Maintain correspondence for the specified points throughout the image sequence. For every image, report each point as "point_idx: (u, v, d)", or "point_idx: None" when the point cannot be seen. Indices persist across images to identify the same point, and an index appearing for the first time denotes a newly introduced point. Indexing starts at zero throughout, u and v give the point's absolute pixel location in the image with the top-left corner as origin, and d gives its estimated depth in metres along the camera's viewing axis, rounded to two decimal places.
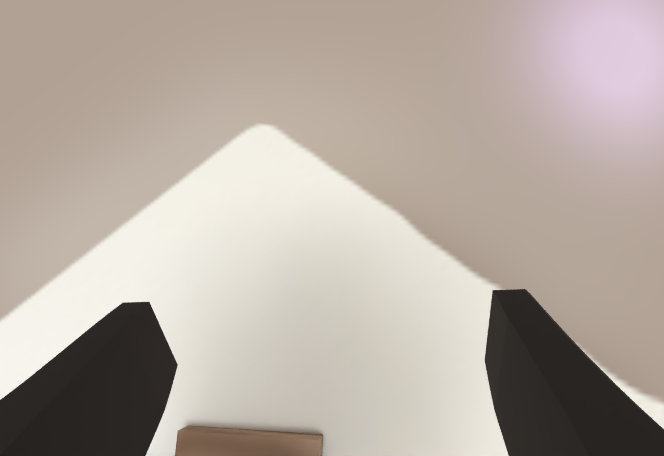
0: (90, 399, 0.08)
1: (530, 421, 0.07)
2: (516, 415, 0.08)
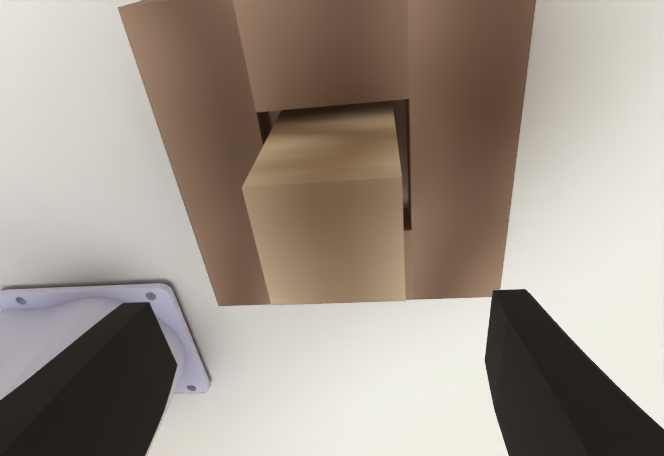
0: (90, 399, 0.08)
1: (530, 421, 0.07)
2: (516, 415, 0.08)
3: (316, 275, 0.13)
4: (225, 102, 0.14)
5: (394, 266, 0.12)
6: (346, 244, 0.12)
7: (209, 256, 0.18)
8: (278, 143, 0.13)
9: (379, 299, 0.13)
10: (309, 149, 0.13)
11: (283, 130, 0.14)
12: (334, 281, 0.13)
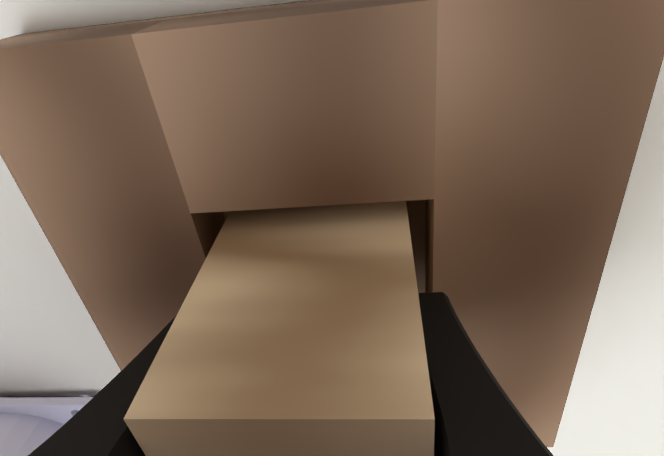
0: None
1: None
2: None
3: None
4: (141, 198, 0.09)
5: None
6: None
7: None
8: (218, 280, 0.08)
9: None
10: (266, 302, 0.07)
11: (232, 245, 0.09)
12: None
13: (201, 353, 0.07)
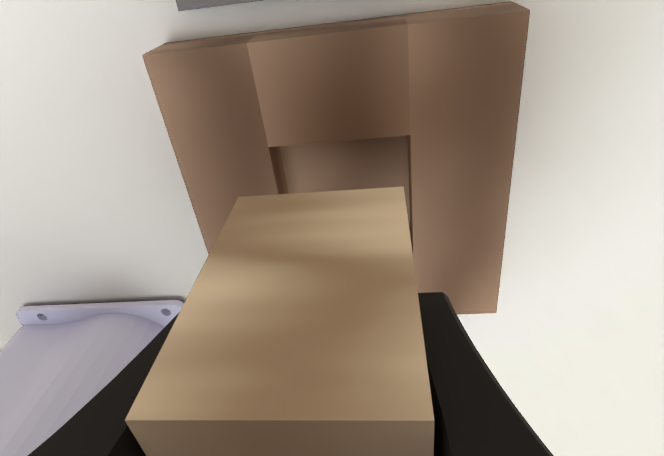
0: None
1: None
2: None
3: None
4: (240, 138, 0.16)
5: None
6: None
7: None
8: (218, 282, 0.08)
9: None
10: (266, 304, 0.07)
11: (232, 247, 0.09)
12: None
13: (202, 355, 0.07)
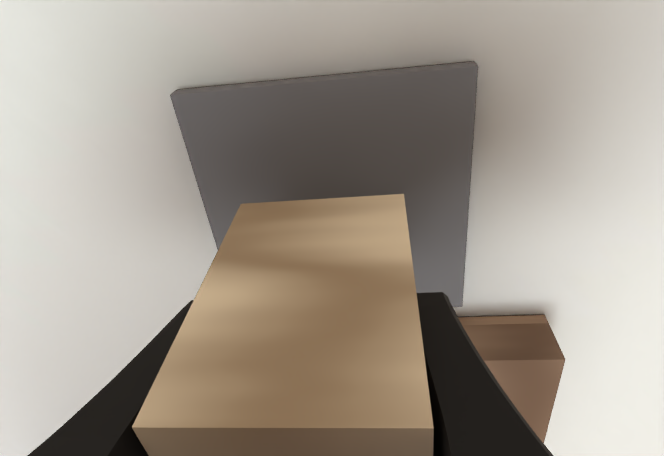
0: None
1: None
2: None
3: None
4: None
5: None
6: None
7: None
8: (221, 289, 0.08)
9: None
10: (269, 312, 0.08)
11: (235, 254, 0.09)
12: None
13: (206, 362, 0.07)
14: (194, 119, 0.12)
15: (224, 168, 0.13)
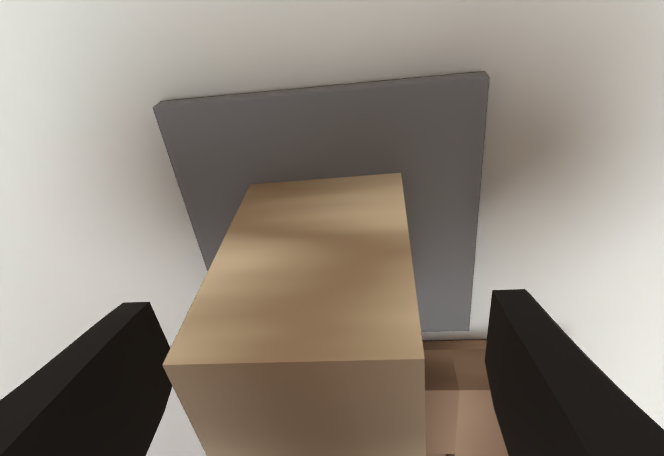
0: (90, 399, 0.08)
1: (530, 421, 0.07)
2: (516, 415, 0.08)
3: None
4: None
5: None
6: (334, 436, 0.08)
7: None
8: (236, 256, 0.09)
9: None
10: (279, 272, 0.08)
11: (247, 227, 0.10)
12: None
13: (225, 314, 0.08)
14: (179, 133, 0.11)
15: (213, 185, 0.12)
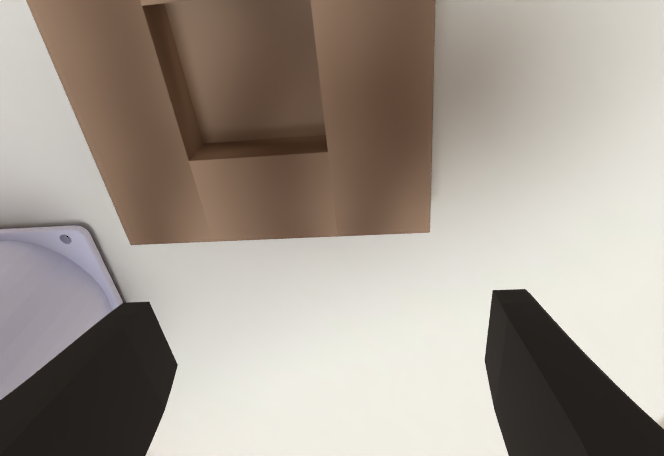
0: (90, 399, 0.08)
1: (530, 421, 0.07)
2: (516, 415, 0.08)
3: None
4: None
5: None
6: None
7: (113, 185, 0.17)
8: None
9: None
10: None
11: None
12: None
13: None
14: None
15: None
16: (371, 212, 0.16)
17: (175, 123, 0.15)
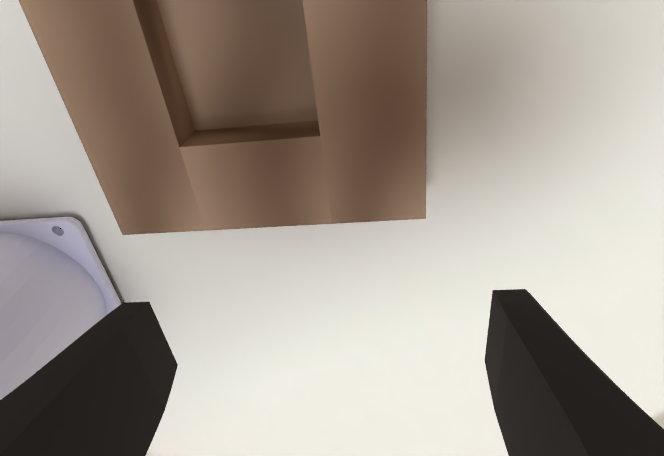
0: (90, 399, 0.08)
1: (530, 421, 0.07)
2: (516, 415, 0.08)
3: None
4: None
5: None
6: None
7: (103, 173, 0.16)
8: None
9: None
10: None
11: None
12: None
13: None
14: None
15: None
16: (365, 198, 0.16)
17: (165, 108, 0.15)
